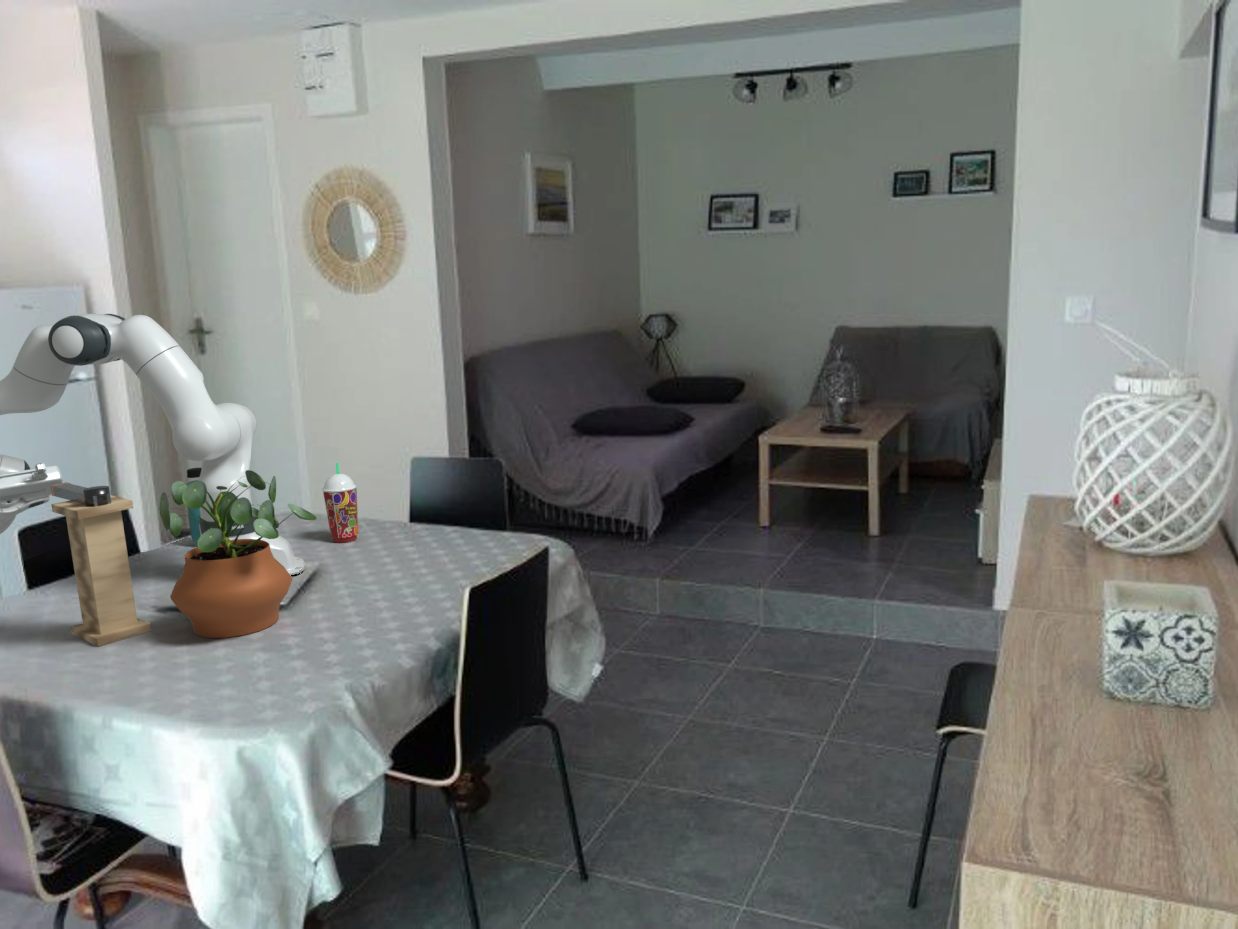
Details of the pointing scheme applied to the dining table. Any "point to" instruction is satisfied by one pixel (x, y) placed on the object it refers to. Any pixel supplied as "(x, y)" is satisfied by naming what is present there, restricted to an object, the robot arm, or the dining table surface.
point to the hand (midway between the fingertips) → (17, 470)
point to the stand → (102, 571)
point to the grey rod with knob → (82, 494)
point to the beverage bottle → (194, 523)
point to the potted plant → (229, 561)
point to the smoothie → (341, 507)
